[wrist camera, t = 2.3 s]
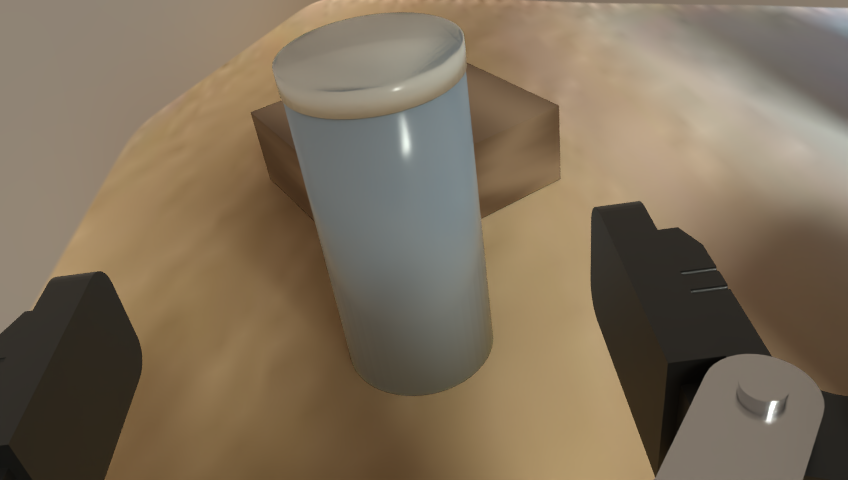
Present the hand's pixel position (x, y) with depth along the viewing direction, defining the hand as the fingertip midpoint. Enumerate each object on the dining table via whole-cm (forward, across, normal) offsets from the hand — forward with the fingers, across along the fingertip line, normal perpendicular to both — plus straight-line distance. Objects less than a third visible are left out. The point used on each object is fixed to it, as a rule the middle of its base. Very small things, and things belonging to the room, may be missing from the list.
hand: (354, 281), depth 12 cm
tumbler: (+12, 0, +12) cm, 17 cm away
